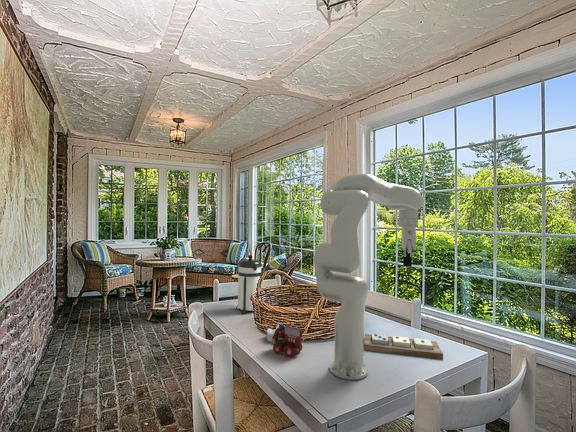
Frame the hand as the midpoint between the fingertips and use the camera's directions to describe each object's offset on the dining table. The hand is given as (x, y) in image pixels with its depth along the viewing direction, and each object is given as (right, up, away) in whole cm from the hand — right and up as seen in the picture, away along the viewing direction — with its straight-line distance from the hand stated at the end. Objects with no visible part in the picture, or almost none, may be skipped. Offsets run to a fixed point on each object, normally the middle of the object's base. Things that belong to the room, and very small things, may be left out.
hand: (407, 266), depth 135 cm
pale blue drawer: (-14, -30, -7) cm, 34 cm away
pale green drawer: (+2, -31, -11) cm, 33 cm away
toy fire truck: (-51, -30, -16) cm, 61 cm away
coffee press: (-72, -30, +38) cm, 87 cm away
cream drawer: (-6, -31, -9) cm, 32 cm away
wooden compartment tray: (-6, -31, -9) cm, 33 cm away
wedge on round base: (-53, -30, -3) cm, 61 cm away
